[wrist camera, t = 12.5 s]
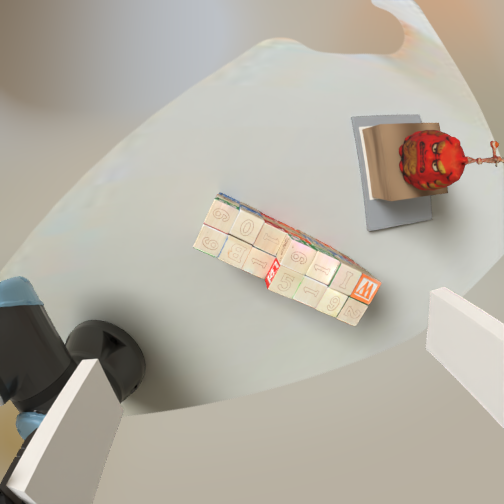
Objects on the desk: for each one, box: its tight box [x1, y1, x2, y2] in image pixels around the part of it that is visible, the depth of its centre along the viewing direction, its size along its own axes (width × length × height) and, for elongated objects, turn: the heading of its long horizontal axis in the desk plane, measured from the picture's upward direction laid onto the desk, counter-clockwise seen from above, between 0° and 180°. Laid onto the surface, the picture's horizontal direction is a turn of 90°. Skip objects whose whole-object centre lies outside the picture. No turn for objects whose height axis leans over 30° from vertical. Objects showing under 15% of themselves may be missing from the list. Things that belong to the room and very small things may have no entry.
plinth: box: [362, 123, 448, 201], centre depth 38 cm, size 10×10×6 cm
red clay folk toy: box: [399, 130, 504, 190], centre depth 28 cm, size 8×7×15 cm
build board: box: [351, 115, 432, 231], centre depth 42 cm, size 12×17×1 cm
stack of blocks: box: [193, 193, 381, 326], centre depth 38 cm, size 21×6×12 cm, turn 64°
